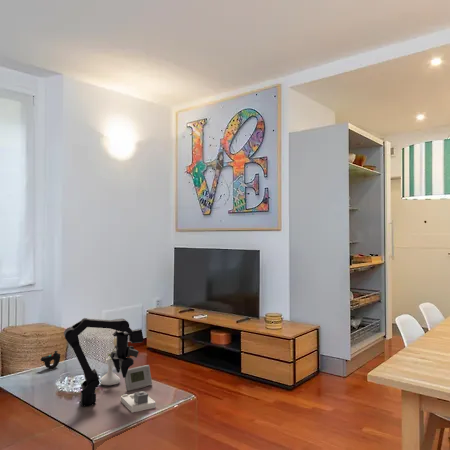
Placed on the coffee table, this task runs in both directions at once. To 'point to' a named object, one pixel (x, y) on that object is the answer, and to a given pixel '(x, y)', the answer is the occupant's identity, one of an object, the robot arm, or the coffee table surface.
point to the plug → (141, 397)
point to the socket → (133, 406)
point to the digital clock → (138, 378)
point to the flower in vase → (110, 372)
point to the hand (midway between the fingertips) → (121, 375)
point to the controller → (49, 358)
